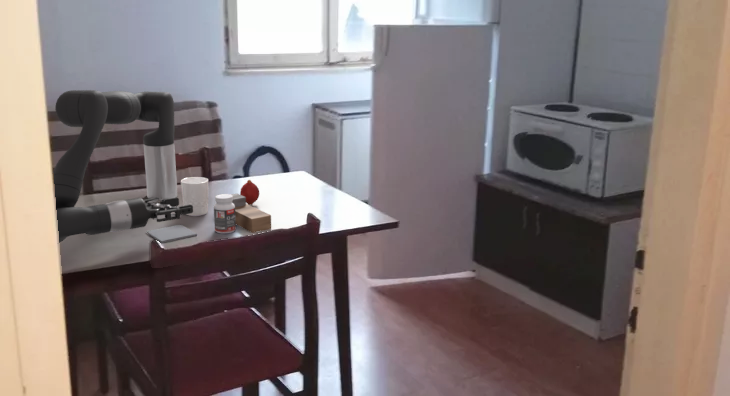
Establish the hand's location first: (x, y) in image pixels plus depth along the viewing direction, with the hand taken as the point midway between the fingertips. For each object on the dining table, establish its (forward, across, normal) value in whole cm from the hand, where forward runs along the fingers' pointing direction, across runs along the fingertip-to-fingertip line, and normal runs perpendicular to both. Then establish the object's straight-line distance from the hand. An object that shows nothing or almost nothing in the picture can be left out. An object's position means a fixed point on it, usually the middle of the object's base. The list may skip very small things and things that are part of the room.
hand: (185, 204), depth 194 cm
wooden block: (+20, +4, +9) cm, 22 cm away
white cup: (+12, +20, +9) cm, 26 cm away
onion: (+30, +18, +9) cm, 36 cm away
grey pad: (-2, +6, +9) cm, 11 cm away
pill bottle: (+12, 0, +10) cm, 15 cm away
